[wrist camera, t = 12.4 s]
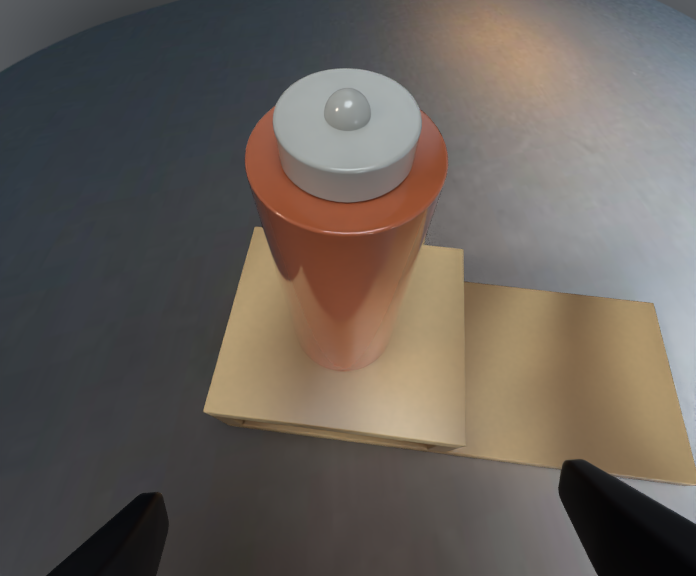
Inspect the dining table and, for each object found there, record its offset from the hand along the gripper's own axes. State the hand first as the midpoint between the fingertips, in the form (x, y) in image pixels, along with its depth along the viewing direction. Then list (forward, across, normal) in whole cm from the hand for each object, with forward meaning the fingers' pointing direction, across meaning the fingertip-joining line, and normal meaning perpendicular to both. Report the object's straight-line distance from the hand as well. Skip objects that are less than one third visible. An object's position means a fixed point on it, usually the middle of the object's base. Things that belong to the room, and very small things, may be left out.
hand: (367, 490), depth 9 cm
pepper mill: (+11, 0, 0) cm, 11 cm away
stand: (+13, -6, +4) cm, 15 cm away
